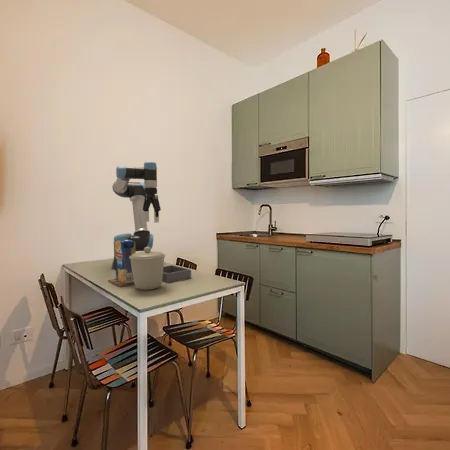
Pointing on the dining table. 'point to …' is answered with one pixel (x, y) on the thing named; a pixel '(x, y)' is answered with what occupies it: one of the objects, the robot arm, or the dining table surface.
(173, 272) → the grey bin
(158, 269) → the canister
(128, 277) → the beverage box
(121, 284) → the walnut board
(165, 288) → the dining table surface
